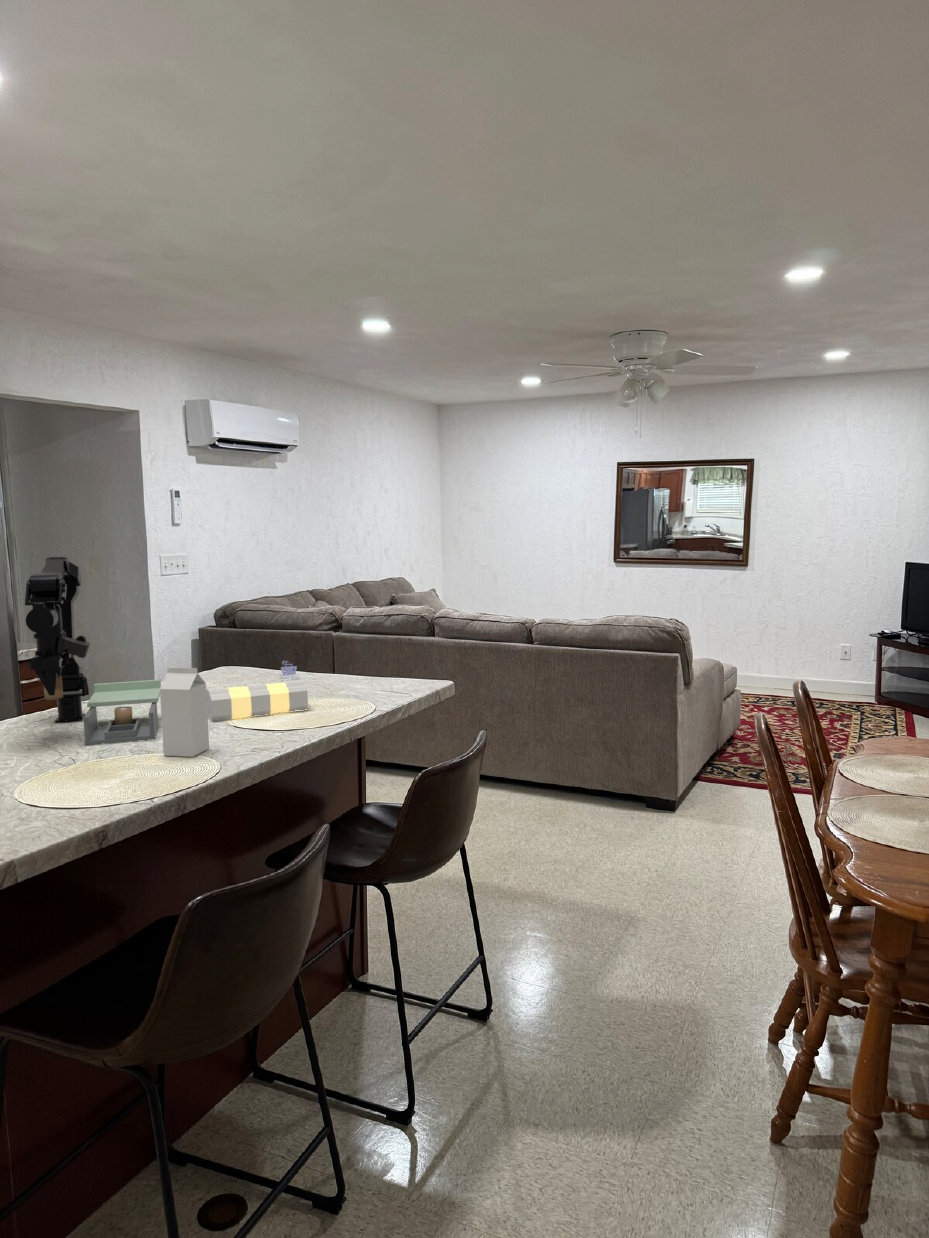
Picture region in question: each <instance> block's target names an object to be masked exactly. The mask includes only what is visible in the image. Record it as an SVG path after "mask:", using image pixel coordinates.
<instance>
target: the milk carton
mask: <svg viewBox="0 0 929 1238" xmlns="http://www.w3.org/2000/svg"><path fill="white" fill-rule="evenodd" d="M166 669H167V670H166V671H167V673H166V675H165V677H164V679H163V681H162V682H161V687H160V697H159V699H160V714H161V730H162V731H161V732H162V745H163V746H162V747H163V749H162V750H163V756H165V757H184V758H185V757H186V758H187V757H189V758H193V757H195V756H197V755H199V754H201V753H203V752H204V751H207V750H209V749H210V735H209V721H208V720H209V719H208V714H207V695H206V689H207V683H206V681H204V679H203V678H202V677H201V675H200V674H199V673H198V668H197V667H167V668H166Z"/></svg>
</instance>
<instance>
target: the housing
mask: <svg viewBox="0 0 929 1238" xmlns="http://www.w3.org/2000/svg"><path fill="white" fill-rule="evenodd" d="M157 703H158V702H154V703H151V704H150V708H149V710H148V722H145V723H143V722H142V723H141V718H140V717H139V718H134V717H133V707H132V706H117V707H115V708H114V711H113V712H114V713H113V714H114V720H113V719H112V720H109V723H108V724H107V725H106V726H105V725H104V726H98V715H97V713H98V711H97V707H89V709H88V711H87V712H86V713H85V716H84V718H83V728H84V729H83V730H84V744H85V746H96V745H95V744H98V745H103V744H102V743H110V744H119V742H121V743H130V742H129V741H133V742H139V741H138V740H145V741H149V740H148V739H155V740H156V737H157V733H158V732H157V731H158V728H159V720H158V719H159V717H158V704H157ZM155 736H156V737H155ZM117 742H118V743H117Z"/></svg>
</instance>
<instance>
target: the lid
mask: <svg viewBox="0 0 929 1238" xmlns="http://www.w3.org/2000/svg"><path fill="white" fill-rule="evenodd" d="M161 685H162V681H161V679H150V680H149V679H147V680H135V681H134V680H133V681H131V680H130V681H122V682H121V681H119V682H117V681H116V682H104V683H94V684H93V690H94V693H93V694H92V696H91V697H90V698H89V700H88V701H87V702H86V705H87V708H90V707H96V708H97V707H110V706H111V707H112V706H123V705H137V704H138V705H139V704H150V703H151V704H152V703H154V702H157V703H158V702H159V699H160V687H161Z"/></svg>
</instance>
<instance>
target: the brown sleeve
mask: <svg viewBox="0 0 929 1238" xmlns="http://www.w3.org/2000/svg"><path fill="white" fill-rule="evenodd" d="M43 695H44V700H47V701H51V700H52V701H53V700H57V699H60V698H63V686H62V676H57V680H56V689H55V695H51V696H50V695H49V694H48V692H47V690H46V689H45V687H44V686H43Z"/></svg>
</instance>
